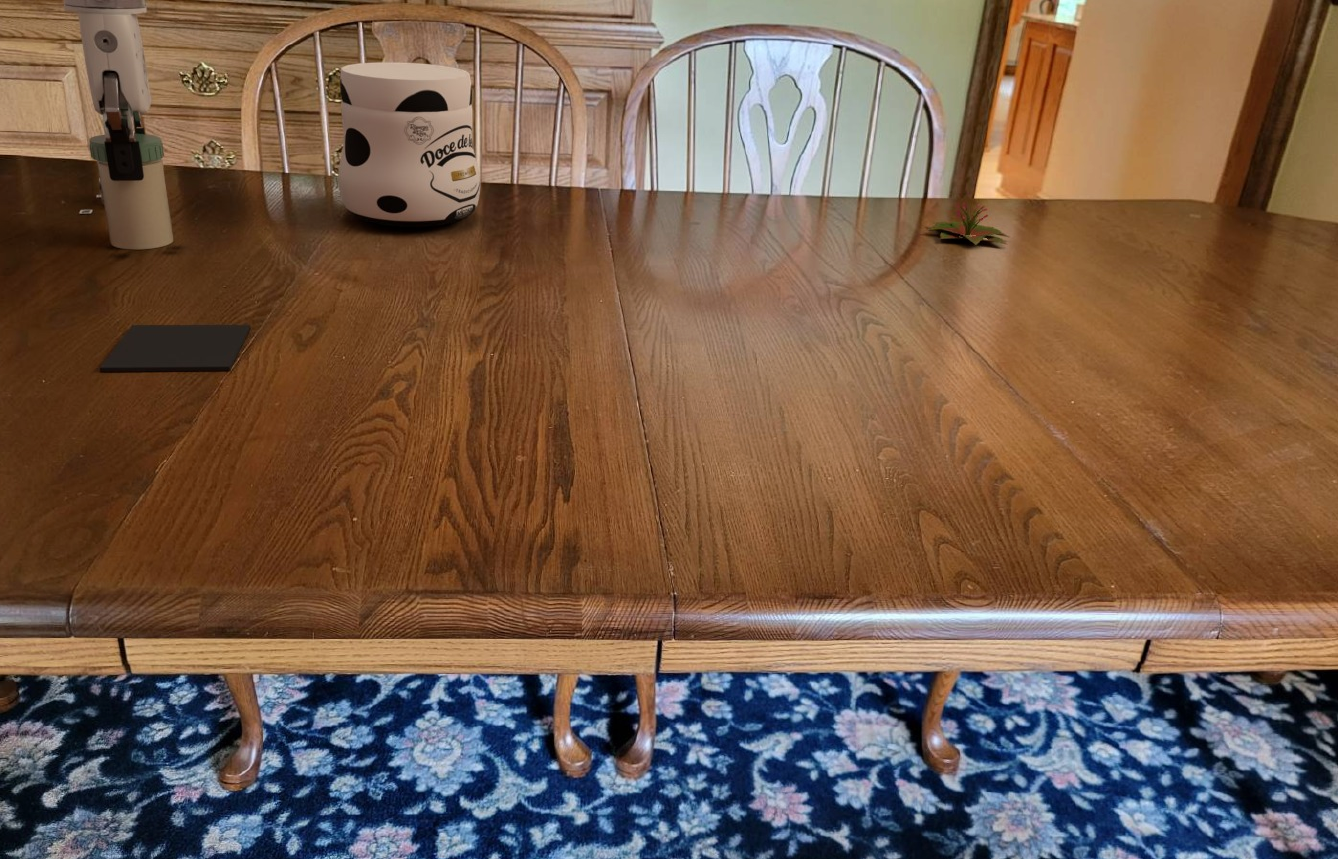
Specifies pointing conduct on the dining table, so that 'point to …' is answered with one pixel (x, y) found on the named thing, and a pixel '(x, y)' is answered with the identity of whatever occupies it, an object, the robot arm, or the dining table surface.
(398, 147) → the milk container
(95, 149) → the honey lid
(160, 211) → the honey jar
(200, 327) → the coaster
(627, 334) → the dining table surface
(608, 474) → the dining table surface
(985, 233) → the lily flower
